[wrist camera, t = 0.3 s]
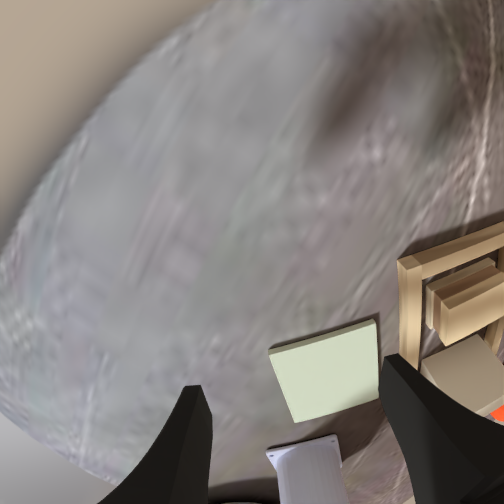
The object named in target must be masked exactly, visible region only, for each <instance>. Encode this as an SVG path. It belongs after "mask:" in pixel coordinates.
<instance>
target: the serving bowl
mask: <svg viewBox="0 0 504 504" xmlns="http://www.w3.org/2000/svg"><path fill="white" fill-rule="evenodd" d="M223 504H260V503H253V502H231V503H223Z"/></svg>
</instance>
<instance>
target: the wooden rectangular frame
mask: <svg viewBox="0 0 504 504" xmlns="http://www.w3.org/2000/svg"><path fill="white" fill-rule="evenodd" d="M498 248H499V253H498V263H497V269H498V270H499V271H500V272H503V273H504V221H502V222H500V223H497V224H495V225H492V226H490V227H487V228H484V229H482V230H479V231H476V232H474V233H471V234H468V235H466V236H463V237H460V238H458V239H455V240H452V241H449V242H447V243H444V244H441V245H438V246H435V247H433V248H430V249H427V250H424V251H421V252H418V253H415V254H412V255H410V256H407V257H404V258H401V259H398V260H397V267H398V285H399V316H400V345H399V355H401V356H402V357H403V358H404V359H405V360H406V361H407V362H409V363H410V364H411V365H412V366H413V367H414V368H415V369H416V370H417V368H418V358H419V347H420V332H421V310H422V279H425V278H428V277H430V276H433V275H436V274H438V273H441V272H443V271H446V270H448V269H451V268H453V267H456V266H458V265H461V264H463V263H466V262H468V261H470V260H473V259H475V258H478V257H480V256H482V255H485V254H487V253H489V252H492V251H494V250H496V249H498ZM503 330H504V316H502V317H500V318H499V319H497V320H495V321H493V322H492V323H490V324H488V325H487V330H486V334H485V338H484V342H485V343H486V344H487V346H488V347H489V348H490V349H491V350H492V352H493V353H494V354H495V355H497V351H498V348H499V345H500V341H501V338H502V334H503Z"/></svg>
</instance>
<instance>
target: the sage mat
mask: <svg viewBox="0 0 504 504" xmlns="http://www.w3.org/2000/svg"><path fill="white" fill-rule="evenodd" d="M268 354H269V357H270V360H271V363H272V365H273V368H274V370H275V373H276V376H277V378H278V381H279V383H280V386H281V389H282V391H283V394H284V396H285V399H286V402H287V404H288V407H289V409H290V412H291V414H292V417H293V419H294V422H295V423H297V422H301V421H305V420H309V419H313V418H317V417H320V416H324V415H328V414H331V413H334V412H338V411H341V410H344V409H348V408H351V407H354V406H357V405H360V404H363V403H366V402H369V401H372V400H375V399H377V398H379V392H378V353H377V334H376V323H375V321H374V319H370V320H367V321H364V322H361V323H358V324H355V325H352V326H349V327H346V328H343V329H340V330H337V331H333V332H330V333H327V334H324V335H320V336H317V337H313V338H310V339H306V340H303V341H299V342H296V343H292V344H289V345H285V346H281V347H277V348H274V349H270V350H268Z"/></svg>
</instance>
